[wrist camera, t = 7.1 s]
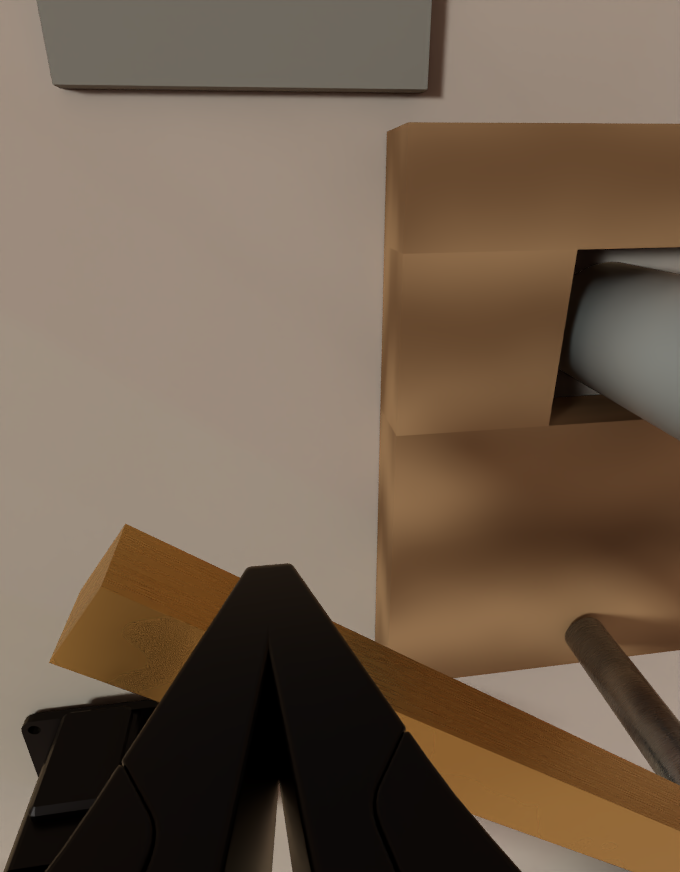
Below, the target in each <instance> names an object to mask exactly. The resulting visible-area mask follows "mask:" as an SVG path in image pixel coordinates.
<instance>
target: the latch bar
mask: <svg viewBox="0 0 680 872" xmlns="http://www.w3.org/2000/svg"><path fill="white" fill-rule="evenodd" d="M239 579H240V578H239V577H237V576H235V575H233V574H231V573H229V572H227V571H225V570H222V569H220V568H218V567H216V566H214V565H212V564H210V563H208V562H205V561H203V560H201V559H199V558H197V557H195V556H193V555H191V554H188V553H186V552H184V551H182V550H180V549H178V548H176V547H174V546H172V545H169V544H167V543H165V542H163V541H161V540H159V539H157V538H155V537H152V536H150V535H148V534H146V533H144V532H142V531H140V530H138V529H136V528H133V527H131V526H129V525H127V524H125V525H124V527H123V528H122V530H121V531H120V533H119V534H118V536H117V537H116V539H115V540H114V542H113V543H112V545H111V546H110V548H109V549H108V551H107V552H106V554H105V555H104V557H103V558H102V560H101V561H100V562H99V564H98V565H97V567H96V568H95V570H94V571H93V573H92V574H91V576H90V577H89V579H88V580H87V582H86V583H85V585H84V586H83V588H82V589H81V591H80V593H79V595H78V598H77V600H76V602H75V605H74V607H73V609H72V611H71V614H70V616H69V618H68V620H67V623H66V625H65V627H64V630H63V632H62V634H61V636H60V639H59V641H58V643H57V646H56V648H55V650H54V652H53V655H52V657H51V659H50V662H49V663H52V664H55V665H57V666H60V667H63V668H66V669H69V670H71V671H74V672H77V673H80V674H82V675H85V676H88V677H91V678H94V679H96V680H99V681H102V682H105V683H108V684H110V685H113V686H116V687H119V688H122V689H124V690H127V691H130V692H133V693H135V694H138V695H141V696H144V697H147V698H149V699H152V700H155V701H158V702H160V701H161V699H162V698H163V696H164V695H165V693H166V691H167V690H168V688H169V687H170V685H171V684H172V682H173V681H174V679H175V678H176V676H177V675H178V673H179V671H180V670H181V668H182V667H183V665H184V664H185V662H186V661H187V659H188V658H189V656H190V655H191V653H192V651H193V650H194V648H195V647H196V645H197V644H198V642H199V641H200V639H201V638H202V636H203V635H204V633H205V631H206V630H207V628H208V627H209V625H210V624H211V622H212V621H213V619H214V618H215V616H216V615H217V613H218V611H219V610H220V608H221V607H222V605H223V604H224V602H225V601H226V599H227V598H228V596H229V595H230V593H231V591H232V590H233V588H234V587H235V585H236V584H237V582H238V581H239ZM332 622H333V621H332ZM333 623H334V625H335V626H336V628H337V629H338V631H339V632H340V633H341V635H342V636H343V638H344V639H345V641H346V642H347V643H348V645H349V646H350V648H351V649H352V651H353V652H354V653H355V655H356V656H357V658H358V659H359V661H360V662H361V663H362V665H363V666H364V668H365V669H366V671H367V672H368V673H369V675H370V676H371V678H372V679H373V681H374V682H375V683H376V685H377V686H378V688H379V689H380V691H381V692H382V694H383V695H384V696H385V698H386V699H387V701H388V702H389V704H390V705H391V706H392V708H393V709H394V711H395V712H396V714H397V715H398V716H399V718H400V719H401V721H402V722H403V724H404V725H405V727H406V732H407V731H408V732H410V733H411V734H412V736H413V737H414V739H415V740H416V742H417V743H418V744H419V746H420V747H421V749H422V750H423V752H424V753H425V754H426V756H427V757H428V759H429V760H430V761H431V763H432V764H433V765H434V767H435V768H436V769H437V771H438V772H439V773H440V775H441V776H442V777H443V779H444V780H445V781H446V783H447V784H448V785H449V787H450V788H451V789H452V791H453V792H454V793H455V795H456V796H457V797H458V798H459V800H460V801H461V802H462V803H463V804H464V806H465V807H466V808H467V809H468V810H469V811H470V813H471V814H473V815H476V816H479V817H482V818H484V819H487V820H490V821H493V822H495V823H498V824H501V825H504V826H507V827H509V828H512V829H515V830H518V831H521V832H523V833H526V834H529V835H532V836H535V837H537V838H540V839H543V840H546V841H549V842H551V843H554V844H557V845H560V846H562V847H565V848H568V849H571V850H574V851H576V852H579V853H582V854H585V855H588V856H590V857H593V858H596V859H599V860H602V861H604V862H607V863H610V864H613V865H615V866H618V867H621V868H624V869H627V870H629V871H632V872H680V721H679V720H678V719H677V718H676V716H675V715H674V714H673V713H672V711H671V710H670V709H669V708H668V706H667V705H666V704H665V703H664V701H663V700H662V699H661V698H660V696H659V695H658V694H657V693H656V691H655V690H654V689H653V688H652V686H651V685H650V684H649V683H648V681H647V680H646V679H645V678H644V676H643V675H642V674H641V672H640V671H639V670H638V669H637V667H636V666H635V665H634V664H633V662H632V661H631V660H630V659H629V657H628V656H627V655H626V654H625V652H624V651H623V650H622V649H621V647H620V646H619V645H618V644H617V642H616V641H615V640H614V639H613V637H612V636H611V635H610V634H609V632H608V631H607V630H606V628H605V627H604V626H603V625H602V623H601V622H600V621H599V620H598V619H595V618H590V617H589V618H583V619H580V620H578V621H576V622H574V623H573V624H572V625H571V626H570V627H569V628H568V629H567V631H566V633H565V642H566V643H567V645H568V646H569V648H570V649H571V651H572V652H573V654H574V655H575V656H576V658H577V659H578V661H579V662H580V664H581V665H582V667H583V668H584V670H585V671H586V673H587V674H588V675H589V677H590V678H591V680H592V681H593V683H594V684H595V686H596V687H597V689H598V690H599V692H600V693H601V694H602V696H603V697H604V699H605V700H606V702H607V703H608V705H609V706H610V708H611V709H612V711H613V712H614V714H615V715H616V716H617V718H618V719H619V721H620V722H621V724H622V725H623V727H624V728H625V730H626V731H627V733H628V734H629V735H630V737H631V738H632V740H633V741H634V743H635V744H636V746H637V747H638V749H639V750H640V752H641V753H642V754H643V756H644V757H645V759H646V760H647V762H648V763H649V765H650V766H651V768H652V769H653V771H654V772H655V773H656V774H655V773H653V772H650V771H648V770H646V769H644V768H642V767H640V766H638V765H636V764H633V763H631V762H629V761H627V760H625V759H623V758H621V757H619V756H616V755H614V754H612V753H610V752H608V751H606V750H604V749H602V748H600V747H597V746H595V745H593V744H591V743H589V742H587V741H585V740H583V739H580V738H578V737H576V736H574V735H572V734H570V733H568V732H566V731H564V730H561V729H559V728H557V727H555V726H553V725H551V724H549V723H547V722H544V721H542V720H540V719H538V718H536V717H534V716H532V715H530V714H528V713H525V712H523V711H521V710H519V709H517V708H515V707H513V706H511V705H508V704H506V703H504V702H502V701H500V700H498V699H496V698H494V697H491V696H489V695H487V694H485V693H483V692H481V691H479V690H477V689H475V688H472V687H470V686H468V685H466V684H464V683H462V682H460V681H458V680H455V679H453V678H451V677H449V676H447V675H445V674H443V673H441V672H439V671H436V670H434V669H432V668H430V667H428V666H426V665H424V664H422V663H419V662H417V661H415V660H413V659H411V658H409V657H407V656H405V655H402V654H400V653H398V652H396V651H394V650H392V649H390V648H388V647H386V646H383V645H381V644H379V643H377V642H375V641H373V640H371V639H369V638H366V637H364V636H362V635H360V634H358V633H356V632H354V631H352V630H350V629H347V628H345V627H343V626H341V625H339V624H337V623H335V622H333Z"/></svg>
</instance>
